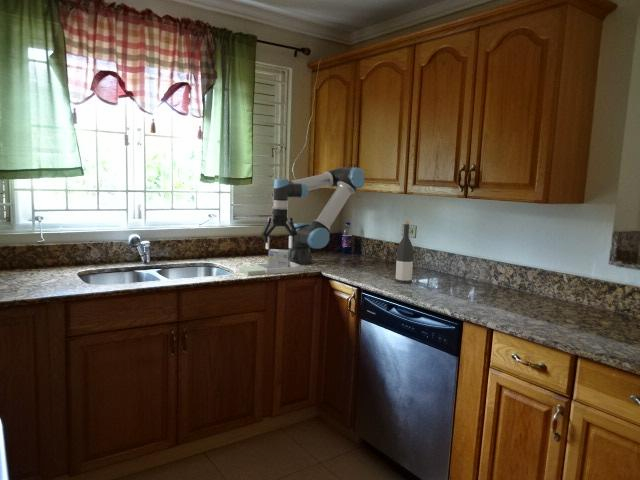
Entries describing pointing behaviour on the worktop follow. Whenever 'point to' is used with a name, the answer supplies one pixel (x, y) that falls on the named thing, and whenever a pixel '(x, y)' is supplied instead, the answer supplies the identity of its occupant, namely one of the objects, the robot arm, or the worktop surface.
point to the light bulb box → (279, 258)
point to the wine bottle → (404, 258)
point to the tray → (292, 268)
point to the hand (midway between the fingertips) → (278, 248)
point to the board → (251, 270)
